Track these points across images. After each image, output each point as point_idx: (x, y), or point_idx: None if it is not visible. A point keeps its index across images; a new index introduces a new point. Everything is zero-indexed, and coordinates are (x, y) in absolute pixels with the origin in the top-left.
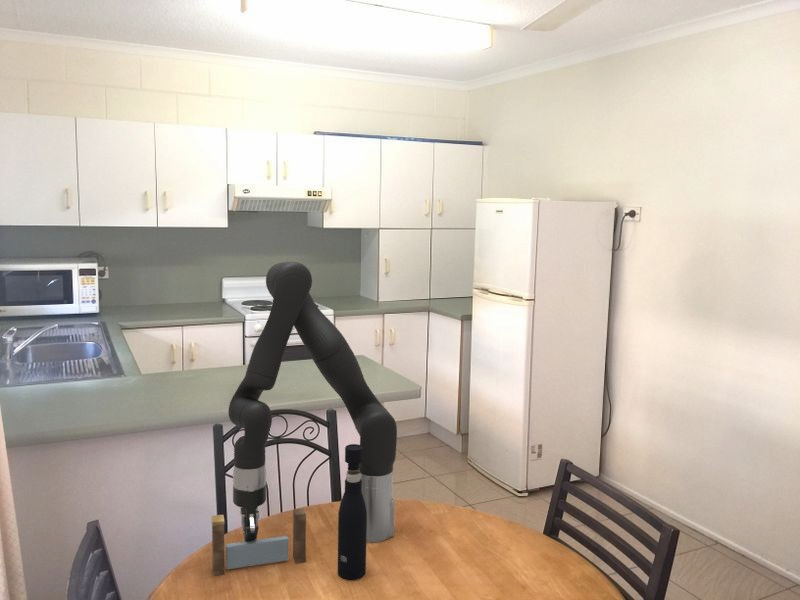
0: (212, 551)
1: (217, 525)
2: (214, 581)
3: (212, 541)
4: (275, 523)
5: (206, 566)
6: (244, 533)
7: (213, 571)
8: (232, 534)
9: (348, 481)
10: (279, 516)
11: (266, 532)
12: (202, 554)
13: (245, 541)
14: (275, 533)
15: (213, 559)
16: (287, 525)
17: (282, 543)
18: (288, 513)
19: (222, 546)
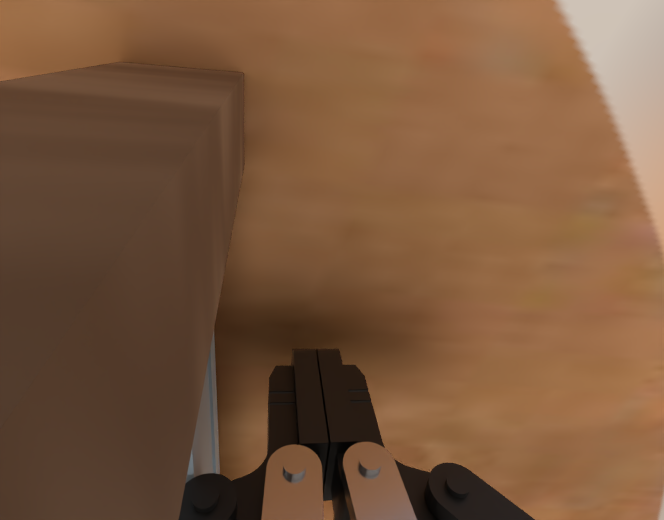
0: (214, 90)
1: None
2: (20, 54)
3: (134, 114)
4: (605, 469)
5: (307, 23)
6: (319, 495)
7: (113, 64)
8: (652, 276)
9: None
10: (653, 485)
11: (549, 432)
12: (521, 20)
13: (194, 472)
14: (513, 464)
15: (43, 75)
16: (552, 506)
17: None
18: (650, 513)
19: None
